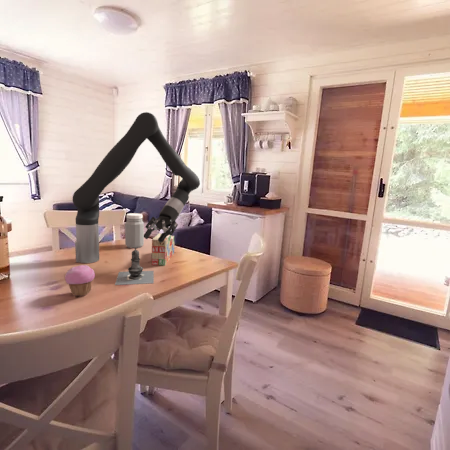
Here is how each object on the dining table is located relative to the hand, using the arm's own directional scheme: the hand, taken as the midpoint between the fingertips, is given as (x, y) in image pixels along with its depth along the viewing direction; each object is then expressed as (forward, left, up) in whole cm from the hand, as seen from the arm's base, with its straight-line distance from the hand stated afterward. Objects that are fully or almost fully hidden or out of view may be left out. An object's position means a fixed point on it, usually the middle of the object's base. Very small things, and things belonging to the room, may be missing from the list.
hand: (152, 239), depth 120 cm
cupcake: (-23, -20, -14) cm, 34 cm away
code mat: (-6, -6, -14) cm, 16 cm away
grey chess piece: (-6, -6, -14) cm, 17 cm away
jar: (-9, +42, -14) cm, 45 cm away
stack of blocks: (+6, +19, -14) cm, 24 cm away
